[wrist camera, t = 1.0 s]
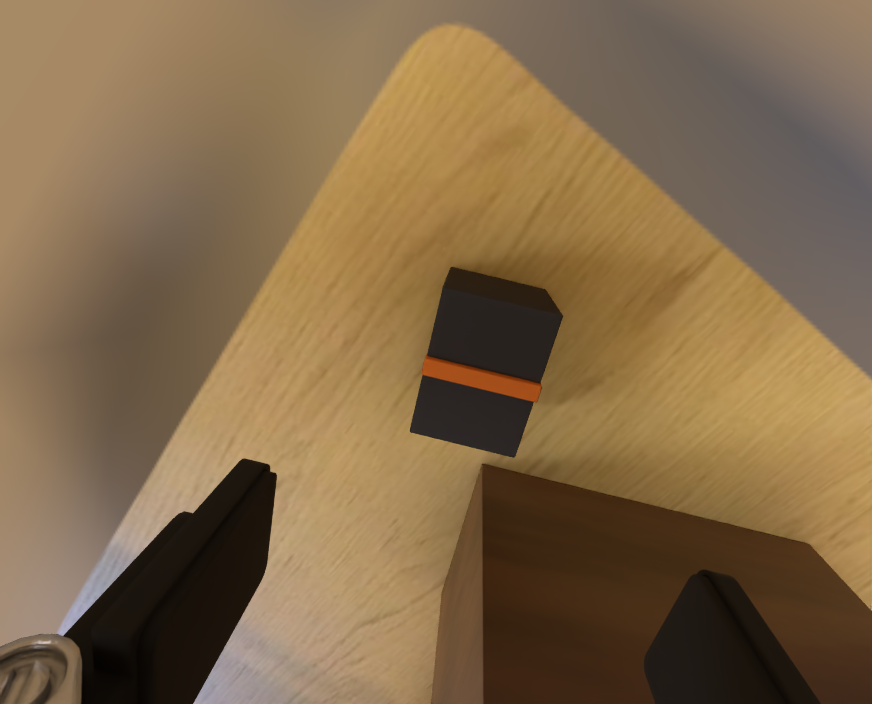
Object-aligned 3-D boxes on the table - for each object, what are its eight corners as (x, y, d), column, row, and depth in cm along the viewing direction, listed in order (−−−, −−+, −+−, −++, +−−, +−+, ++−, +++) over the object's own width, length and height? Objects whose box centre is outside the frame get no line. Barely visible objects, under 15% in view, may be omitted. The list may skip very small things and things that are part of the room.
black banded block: (421, 386, 25) (407, 435, 20) (449, 266, 22) (441, 287, 17) (509, 408, 25) (516, 462, 20) (547, 289, 22) (566, 317, 17)
